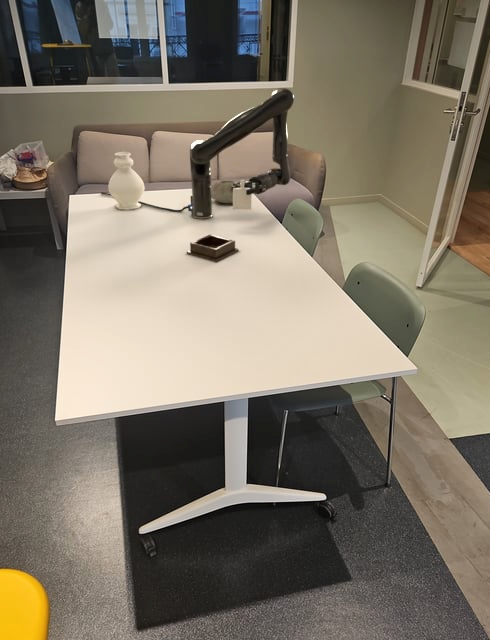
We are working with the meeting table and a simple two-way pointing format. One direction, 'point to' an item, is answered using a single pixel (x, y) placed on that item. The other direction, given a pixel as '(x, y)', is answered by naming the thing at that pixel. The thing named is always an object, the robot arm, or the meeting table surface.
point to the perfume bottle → (241, 198)
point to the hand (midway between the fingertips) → (239, 191)
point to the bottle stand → (212, 248)
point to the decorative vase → (126, 183)
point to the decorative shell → (223, 191)
